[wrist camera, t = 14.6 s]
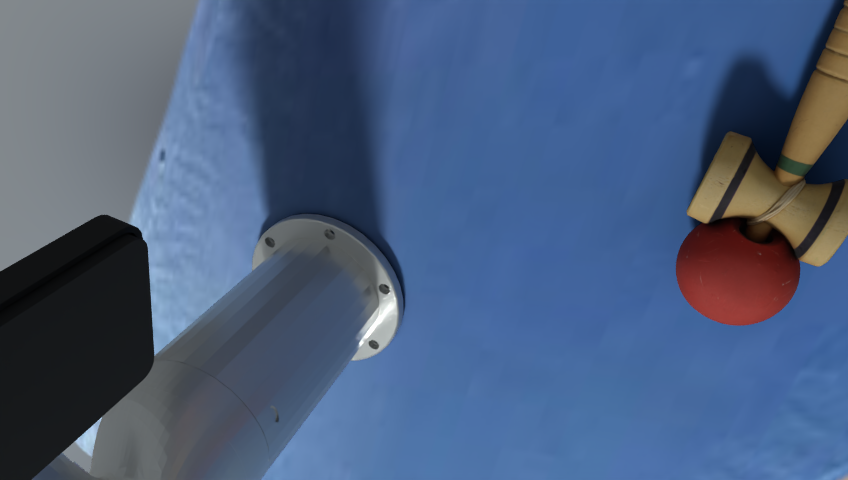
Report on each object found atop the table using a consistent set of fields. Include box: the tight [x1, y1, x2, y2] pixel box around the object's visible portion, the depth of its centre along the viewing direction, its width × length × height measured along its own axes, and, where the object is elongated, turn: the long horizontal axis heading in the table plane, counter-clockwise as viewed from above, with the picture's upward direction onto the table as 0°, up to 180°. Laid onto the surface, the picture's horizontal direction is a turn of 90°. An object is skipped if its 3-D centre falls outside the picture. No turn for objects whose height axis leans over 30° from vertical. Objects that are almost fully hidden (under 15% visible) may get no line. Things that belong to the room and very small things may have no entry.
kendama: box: [676, 0, 848, 325], centre depth 33 cm, size 8×6×18 cm
